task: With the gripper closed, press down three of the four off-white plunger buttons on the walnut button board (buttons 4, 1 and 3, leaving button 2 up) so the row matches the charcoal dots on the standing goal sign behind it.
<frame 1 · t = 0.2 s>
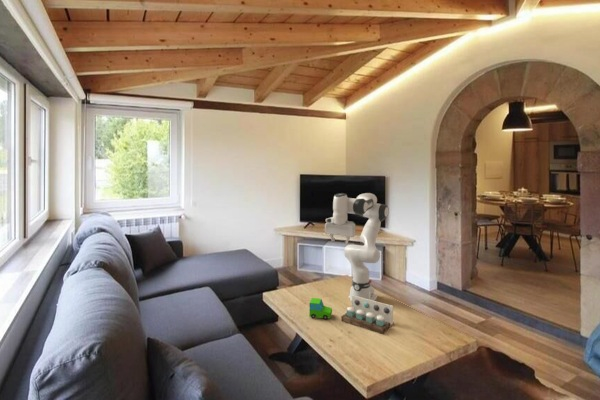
hand: (339, 242, 213), 47 cm above the table, fingers open, 8 cm apart
goal sign: (371, 319, 213), on the table
toy car: (320, 316, 217), on the table
walnut button board: (365, 324, 206), on the table
button 2: (360, 314, 208), point 5 cm above the table, slide at 0.0 cm
button 4: (380, 320, 200), point 5 cm above the table, slide at 0.0 cm
button 3: (370, 317, 204), point 5 cm above the table, slide at 0.0 cm
button 1: (350, 311, 212), point 5 cm above the table, slide at 0.0 cm
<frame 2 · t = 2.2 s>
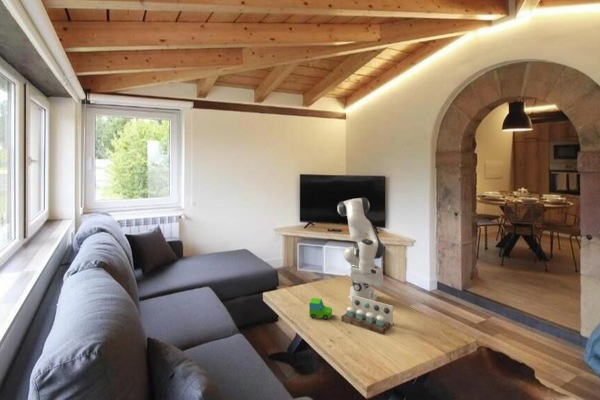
hand: (366, 290, 204), 21 cm above the table, fingers closed
nothing on the table moved.
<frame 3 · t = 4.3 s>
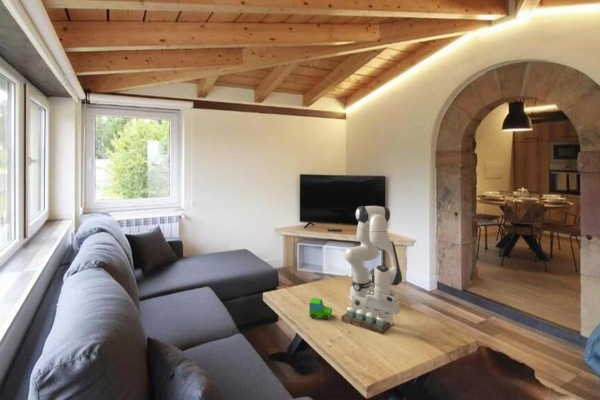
hand: (381, 317, 199), 7 cm above the table, fingers closed, pressing on button 4
button 4: (380, 321, 200), point 5 cm above the table, slide at 0.3 cm, touching gripper
everything else where it was.
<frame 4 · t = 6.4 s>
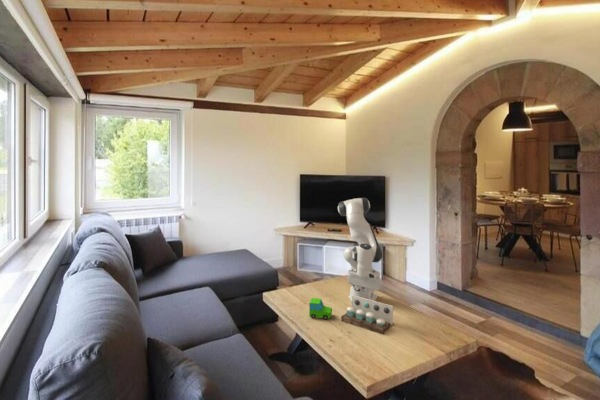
hand: (363, 293, 206), 18 cm above the table, fingers closed
button 4: (380, 323, 200), point 3 cm above the table, slide at 2.0 cm
everything else where it was.
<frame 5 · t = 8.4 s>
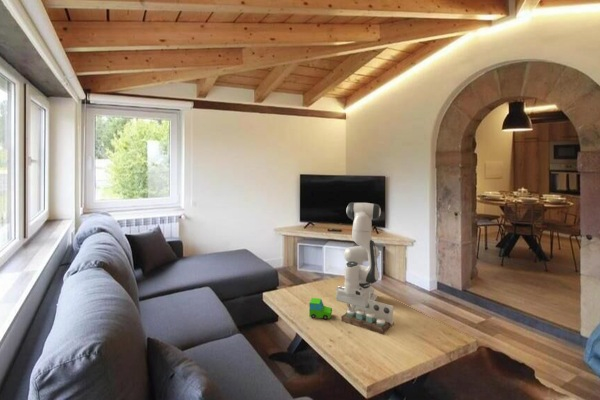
hand: (351, 310, 211), 6 cm above the table, fingers closed, pressing on button 1
button 1: (350, 314, 212), point 4 cm above the table, slide at 1.4 cm, touching gripper
everything else where it was.
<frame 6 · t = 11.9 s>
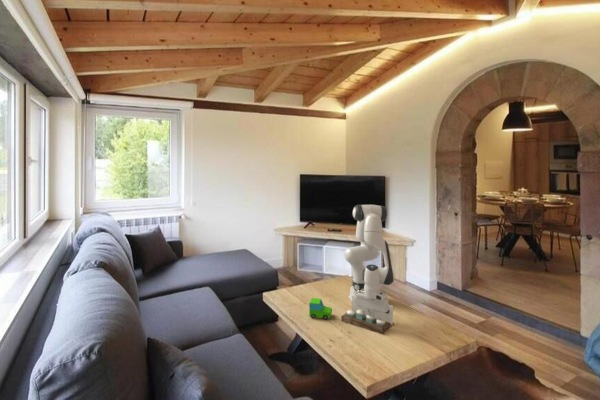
hand: (371, 315, 203), 6 cm above the table, fingers closed, pressing on button 3
button 3: (370, 319, 204), point 4 cm above the table, slide at 1.0 cm, touching gripper
button 1: (350, 315, 212), point 3 cm above the table, slide at 2.1 cm
everything else where it was.
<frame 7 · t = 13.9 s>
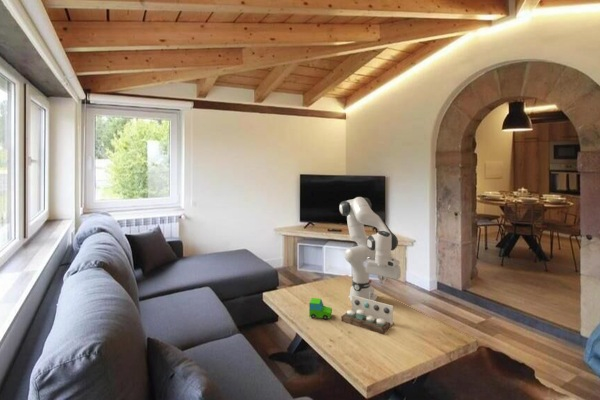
hand: (382, 283, 199), 27 cm above the table, fingers closed
button 3: (370, 320, 204), point 3 cm above the table, slide at 2.0 cm
everything else where it was.
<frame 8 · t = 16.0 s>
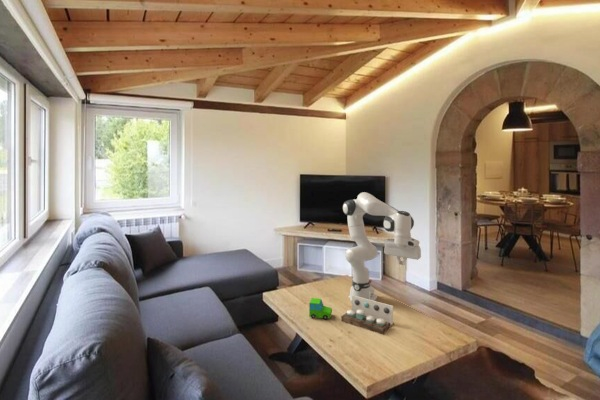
hand: (401, 264, 195), 39 cm above the table, fingers closed
nothing on the table moved.
at the end: button 1 slide at 2.1 cm; button 3 slide at 2.0 cm; button 4 slide at 2.0 cm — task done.
